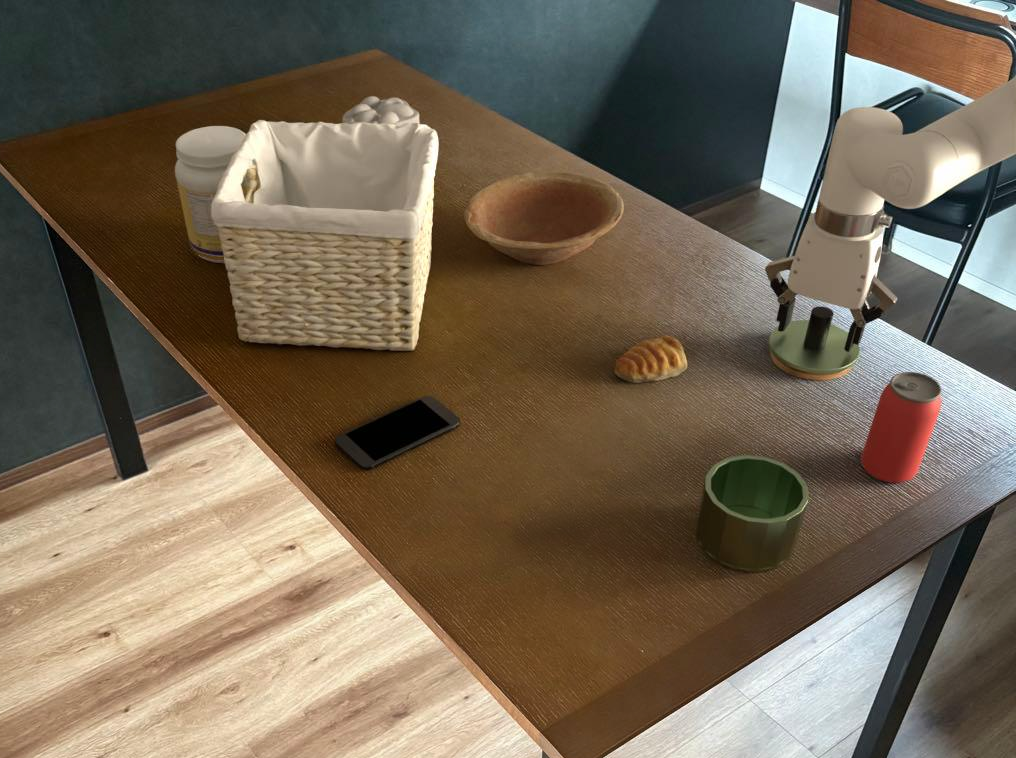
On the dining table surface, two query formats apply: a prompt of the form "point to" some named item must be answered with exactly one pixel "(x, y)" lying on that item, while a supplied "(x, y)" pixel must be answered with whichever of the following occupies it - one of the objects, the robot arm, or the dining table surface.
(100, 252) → the dining table surface
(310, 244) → the basket
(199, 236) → the supplement tub
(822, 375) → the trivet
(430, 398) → the smartphone
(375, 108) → the lumpy-topped squat cylinder
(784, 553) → the pot
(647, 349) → the pastry
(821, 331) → the pot lid
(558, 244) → the bowl
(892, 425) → the beer can
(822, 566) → the dining table surface
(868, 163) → the robot arm
